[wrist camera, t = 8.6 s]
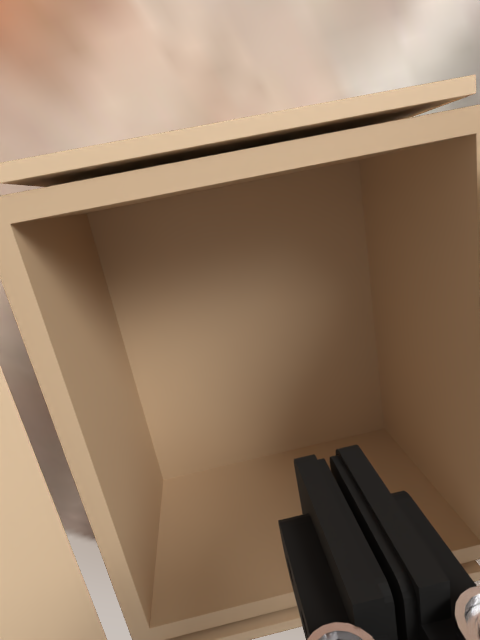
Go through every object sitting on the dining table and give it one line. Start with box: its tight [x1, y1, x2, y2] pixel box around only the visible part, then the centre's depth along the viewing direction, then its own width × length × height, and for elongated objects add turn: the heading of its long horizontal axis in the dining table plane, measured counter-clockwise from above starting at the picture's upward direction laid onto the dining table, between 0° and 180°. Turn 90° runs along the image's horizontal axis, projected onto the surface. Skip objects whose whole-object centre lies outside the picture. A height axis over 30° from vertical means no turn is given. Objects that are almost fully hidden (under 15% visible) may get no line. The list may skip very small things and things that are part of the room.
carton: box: [0, 75, 480, 640], centre depth 20 cm, size 16×20×10 cm
